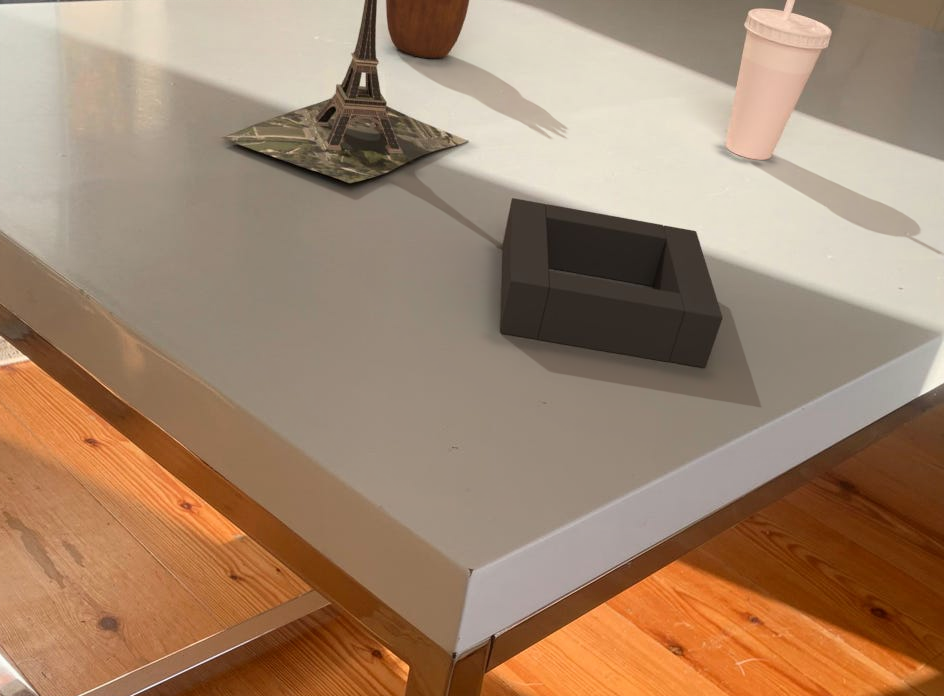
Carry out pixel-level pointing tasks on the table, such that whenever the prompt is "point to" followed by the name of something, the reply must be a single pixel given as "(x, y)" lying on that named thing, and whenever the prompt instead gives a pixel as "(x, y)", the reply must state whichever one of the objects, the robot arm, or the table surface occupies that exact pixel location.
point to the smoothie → (772, 77)
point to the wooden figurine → (425, 25)
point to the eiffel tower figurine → (348, 125)
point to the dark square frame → (607, 284)
